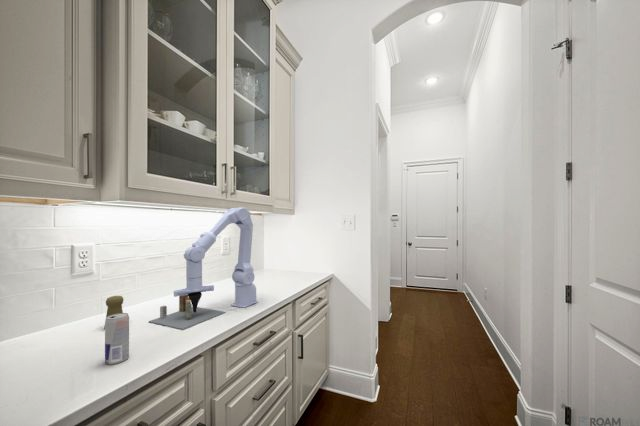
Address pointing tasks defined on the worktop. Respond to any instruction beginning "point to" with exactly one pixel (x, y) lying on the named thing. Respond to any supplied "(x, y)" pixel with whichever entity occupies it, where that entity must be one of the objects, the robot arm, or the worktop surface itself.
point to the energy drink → (116, 338)
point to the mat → (182, 323)
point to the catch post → (163, 312)
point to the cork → (114, 305)
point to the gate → (188, 308)
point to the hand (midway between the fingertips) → (194, 311)
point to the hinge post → (182, 302)
